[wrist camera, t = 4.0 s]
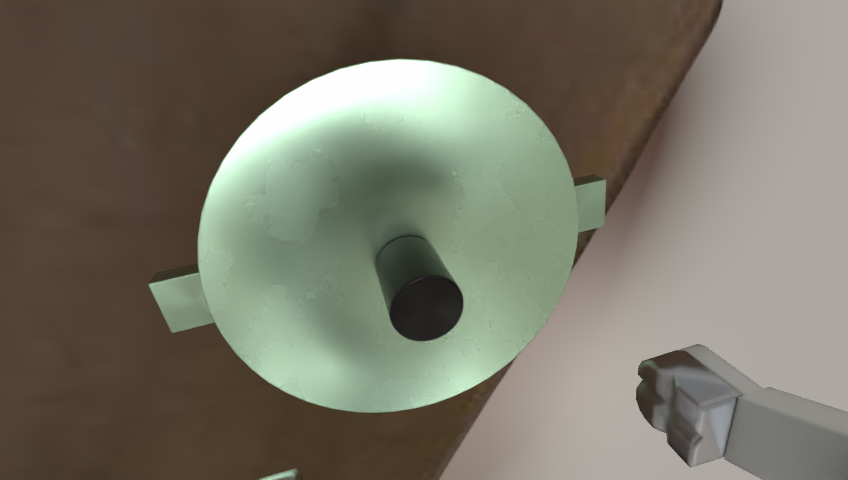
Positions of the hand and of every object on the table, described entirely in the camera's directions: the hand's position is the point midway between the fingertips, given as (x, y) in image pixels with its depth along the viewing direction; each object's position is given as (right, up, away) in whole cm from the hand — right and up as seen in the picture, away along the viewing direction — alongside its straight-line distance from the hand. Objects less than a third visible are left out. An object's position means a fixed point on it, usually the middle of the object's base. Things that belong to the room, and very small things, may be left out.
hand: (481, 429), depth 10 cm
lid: (-2, +4, +8) cm, 9 cm away
